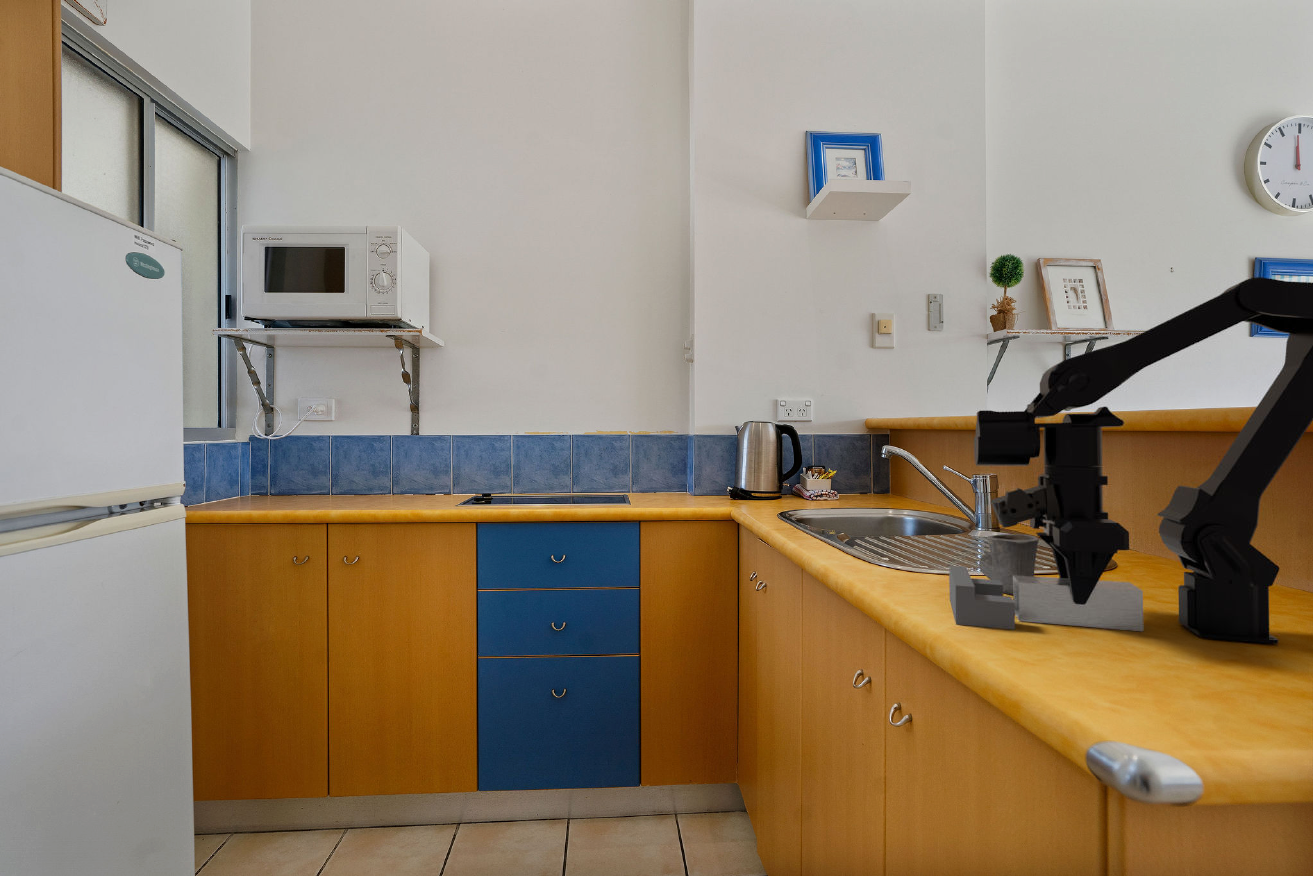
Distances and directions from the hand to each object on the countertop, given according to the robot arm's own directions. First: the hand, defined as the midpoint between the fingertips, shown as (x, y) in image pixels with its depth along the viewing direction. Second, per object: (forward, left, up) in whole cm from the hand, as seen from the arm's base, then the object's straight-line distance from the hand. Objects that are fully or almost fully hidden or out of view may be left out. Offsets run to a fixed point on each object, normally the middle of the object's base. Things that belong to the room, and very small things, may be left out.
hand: (1074, 599), depth 74 cm
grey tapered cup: (+5, -16, -3) cm, 17 cm away
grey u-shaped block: (+10, 0, -3) cm, 10 cm away
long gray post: (0, 0, -2) cm, 2 cm away
